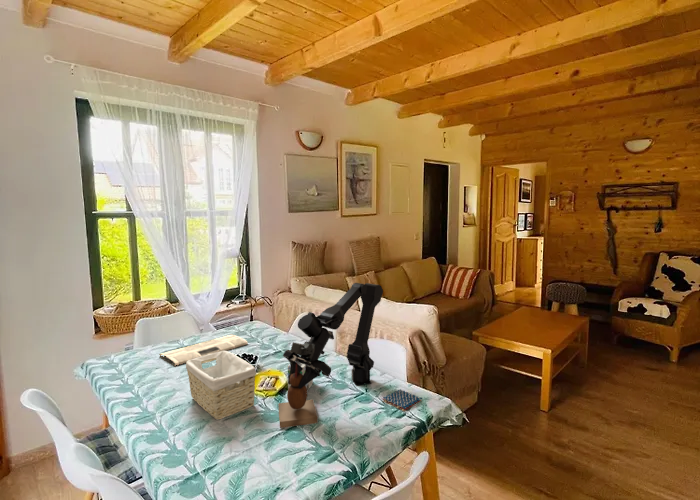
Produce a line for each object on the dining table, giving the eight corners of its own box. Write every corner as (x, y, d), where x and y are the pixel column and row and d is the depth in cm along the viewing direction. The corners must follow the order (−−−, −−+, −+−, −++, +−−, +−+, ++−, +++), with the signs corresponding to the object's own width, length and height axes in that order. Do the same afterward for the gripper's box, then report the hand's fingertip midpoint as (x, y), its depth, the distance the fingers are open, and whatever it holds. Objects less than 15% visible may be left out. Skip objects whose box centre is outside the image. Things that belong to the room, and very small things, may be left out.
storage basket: (259, 407, 136) (257, 366, 135) (214, 425, 125) (212, 381, 124) (227, 385, 154) (226, 348, 152) (186, 399, 143) (183, 360, 141)
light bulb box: (305, 395, 144) (304, 367, 143) (287, 393, 146) (286, 366, 144) (313, 382, 155) (312, 356, 154) (297, 381, 156) (296, 355, 155)
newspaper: (175, 367, 172) (175, 361, 172) (157, 356, 185) (157, 351, 185) (247, 345, 199) (247, 340, 199) (228, 337, 212) (227, 332, 212)
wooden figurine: (295, 400, 134) (293, 358, 132) (310, 403, 132) (308, 360, 130) (284, 410, 128) (283, 366, 126) (300, 413, 126) (298, 368, 124)
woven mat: (399, 392, 146) (399, 387, 146) (422, 402, 139) (422, 397, 138) (380, 402, 139) (380, 397, 139) (404, 413, 132) (404, 407, 131)
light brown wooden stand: (313, 404, 137) (313, 399, 137) (317, 422, 126) (317, 417, 125) (278, 408, 135) (278, 403, 134) (279, 427, 123) (279, 421, 123)
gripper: (285, 327, 136) (261, 367, 129) (324, 338, 124) (299, 383, 117) (303, 342, 143) (280, 382, 136) (341, 354, 131) (318, 398, 124)
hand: (293, 386), depth 128 cm, fingers closed on wooden figurine, 5 cm apart
